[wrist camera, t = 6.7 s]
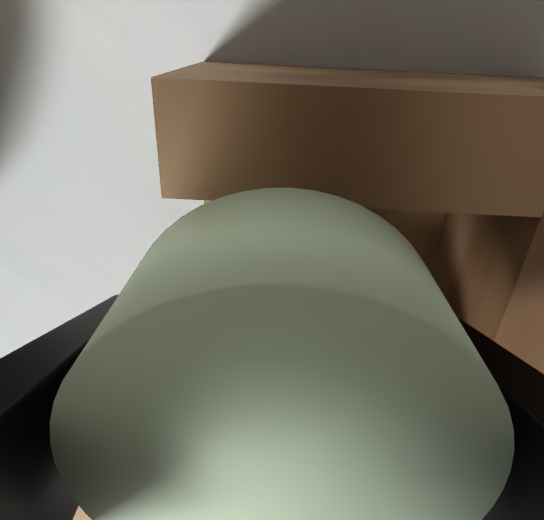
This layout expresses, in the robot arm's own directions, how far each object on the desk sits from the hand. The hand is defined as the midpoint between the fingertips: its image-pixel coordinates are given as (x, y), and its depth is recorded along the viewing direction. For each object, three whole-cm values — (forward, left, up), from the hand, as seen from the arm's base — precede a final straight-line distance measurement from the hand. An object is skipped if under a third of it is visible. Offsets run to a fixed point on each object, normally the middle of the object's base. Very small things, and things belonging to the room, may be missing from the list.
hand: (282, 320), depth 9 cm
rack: (-2, 0, -6) cm, 6 cm away
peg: (0, 0, -2) cm, 2 cm away
